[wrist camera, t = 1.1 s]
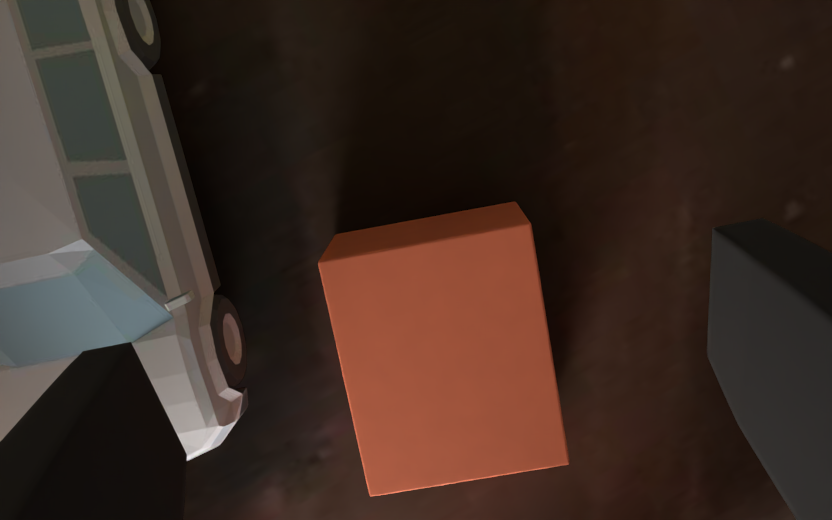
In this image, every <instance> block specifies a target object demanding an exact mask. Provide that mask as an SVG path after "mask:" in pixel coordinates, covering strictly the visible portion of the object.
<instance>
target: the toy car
mask: <svg viewBox="0 0 832 520" xmlns="http://www.w3.org/2000/svg"><path fill="white" fill-rule="evenodd" d="M160 49H161V39H160V34H159V29H158V24H157V19H156V16H155V13H154V11H153V8H152V5H151V2H150V0H0V441H1V440H2V439H3V438H4V437H5V436H6V435H7V434H8V433H9V431H10V430H11V429H12V428H13V427H14V426H15V425H16V424H17V422H18V421H19V420H20V419H21V418H22V417H23V416H24V415H25V413H26V412H27V411H28V410H29V409H30V408H31V407H32V405H33V404H34V403H35V402H36V401H37V400H38V399H39V398H40V396H41V395H42V394H43V393H44V392H45V391H46V390H47V389H48V387H49V386H50V385H51V384H52V383H53V382H54V381H55V380H56V379H57V378H58V376H59V375H60V374H61V373H62V372H63V371H64V370H65V369H66V368H67V367H68V366H69V365H70V364H71V363H72V362H73V361H74V360H75V359H76V358H77V357H78V356H79V355H80V354H81V353H82V352H83V351H87V350H92V349H97V348H102V347H107V346H112V345H117V344H123V343H128V342H131V343H132V345H133V347H134V349H135V351H136V353H137V355H138V357H139V359H140V361H141V363H142V365H143V367H144V369H145V371H146V373H147V375H148V377H149V379H150V381H151V383H152V385H153V387H154V389H155V391H156V393H157V395H158V397H159V399H160V401H161V403H162V405H163V407H164V409H165V411H166V413H167V415H168V417H169V419H170V421H171V423H172V425H173V428H174V430H175V432H176V434H177V436H178V438H179V440H180V442H181V444H182V446H183V448H184V450H185V452H186V454H187V461H189V460H191V459H193V458H195V457H197V456H199V455H201V454H203V453H205V452H207V451H209V450H211V449H213V448H215V447H217V446H219V445H220V444H221V443H222V442H223V441H224V439H225V438H226V436H227V435H228V434H229V432H230V431H231V429H232V428H233V427H234V425H235V424H236V423H237V421H238V420H239V418H240V417H241V416H242V414H243V413H244V411H245V410H246V409H247V407H248V394H247V387H244V388H239V389H234V390H233V389H231V388H229V387H233V386H235V385H238V384H239V383H240V382H241V380H242V379H243V377H244V374H245V370H246V366H247V350H246V342H245V337H244V332H243V327H242V324H241V321H240V318H239V316H238V313H237V310H236V308H235V307H234V306H233V304H232V303H231V302H230V300H229V299H228V298H226V297H225V296H223V295H214V292H215V291H216V290H217V289H218V288H219V287H220V286H221V284H220V280H219V277H218V273H217V270H216V266H215V263H214V259H213V256H212V252H211V248H210V245H209V241H208V238H207V234H206V231H205V227H204V224H203V220H202V217H201V213H200V210H199V206H198V202H197V199H196V195H195V192H194V188H193V185H192V181H191V178H190V174H189V171H188V167H187V164H186V160H185V156H184V153H183V149H182V146H181V142H180V139H179V135H178V132H177V128H176V125H175V121H174V117H173V114H172V110H171V107H170V103H169V100H168V96H167V93H166V89H165V86H164V82H163V79H162V75H161V74H151V73H150V71H149V70H150V69H151V68H152V67H153V66H154V65H155V64H156V63H157V61H158V60H159V58H160Z"/></svg>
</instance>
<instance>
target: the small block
mask: <svg viewBox="0 0 832 520" xmlns="http://www.w3.org/2000/svg"><path fill="white" fill-rule="evenodd" d="M318 266H319V270H320V275H321V279H322V284H323V288H324V293H325V297H326V302H327V306H328V311H329V315H330V320H331V324H332V329H333V333H334V338H335V342H336V347H337V351H338V356H339V360H340V365H341V369H342V374H343V378H344V383H345V387H346V392H347V396H348V401H349V405H350V410H351V414H352V419H353V423H354V428H355V432H356V437H357V441H358V446H359V450H360V455H361V459H362V464H363V468H364V473H365V478H366V482H367V487H368V491H369V495H370V496H379V495H385V494H391V493H397V492H403V491H409V490H415V489H421V488H428V487H434V486H440V485H446V484H452V483H458V482H464V481H470V480H477V479H483V478H489V477H495V476H501V475H507V474H513V473H520V472H526V471H532V470H538V469H544V468H550V467H556V466H562V465H568V464H569V462H570V461H569V455H568V449H567V443H566V437H565V430H564V424H563V418H562V412H561V405H560V399H559V393H558V387H557V381H556V374H555V368H554V362H553V356H552V349H551V343H550V337H549V331H548V325H547V318H546V312H545V306H544V300H543V294H542V287H541V281H540V275H539V269H538V262H537V256H536V250H535V244H534V238H533V231H532V225H531V223H530V222H529V220H528V219H527V217H526V216H525V214H524V213H523V211H522V210H521V209H520V207H519V206H518V204H517V203H516V202H509V203H503V204H498V205H492V206H487V207H481V208H476V209H471V210H465V211H460V212H454V213H449V214H443V215H438V216H433V217H427V218H422V219H416V220H411V221H405V222H400V223H394V224H389V225H384V226H378V227H373V228H367V229H362V230H356V231H351V232H346V233H340V234H336V235H335V236H334V237H333V239H332V241H331V242H330V244H329V245H328V247H327V248H326V250H325V252H324V253H323V255H322V256H321V258H320V260H319V261H318Z"/></svg>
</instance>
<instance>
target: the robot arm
mask: <svg viewBox="0 0 832 520" xmlns="http://www.w3.org/2000/svg"><path fill="white" fill-rule="evenodd" d="M707 356H708V359H709V361H710V363H711V365H712V368H713V370H714V372H715V375H716V377H717V379H718V382H719V384H720V386H721V389H722V391H723V393H724V395H725V397H726V400H727V402H728V404H729V406H730V408H731V410H732V412H733V415H734V417H735V419H736V421H737V423H738V425H739V427H740V428H741V430H742V432H743V434H744V435H745V437H746V439H747V440H748V442H749V444H750V445H751V447H752V448H753V450H754V452H755V453H756V455H757V457H758V458H759V460H760V461H761V463H762V465H763V466H764V468H765V470H766V471H767V473H768V475H769V476H770V478H771V479H772V481H773V483H774V484H775V486H776V487H777V489H778V491H779V492H780V494H781V496H782V497H783V499H784V500H785V502H786V504H787V505H788V507H789V508H790V510H791V512H792V513H793V515H794V516H795V518H796V520H832V253H831V252H829V251H827V250H825V249H823V248H821V247H819V246H818V245H816V244H814V243H812V242H810V241H808V240H806V239H804V238H802V237H800V236H799V235H797V234H795V233H793V232H791V231H789V230H787V229H785V228H783V227H781V226H779V225H777V224H775V223H772V222H770V221H768V220H766V219H764V218H761V219H756V220H751V221H746V222H740V223H735V224H730V225H725V226H720V227H715V228H713V230H712V252H711V273H710V295H709V317H708V338H707ZM186 464H187V454H186V452H185V450H184V448H183V446H182V444H181V442H180V440H179V438H178V436H177V434H176V432H175V430H174V428H173V425H172V423H171V421H170V419H169V417H168V415H167V413H166V411H165V409H164V407H163V405H162V403H161V401H160V399H159V397H158V395H157V393H156V391H155V389H154V387H153V385H152V383H151V381H150V379H149V377H148V375H147V373H146V371H145V369H144V367H143V365H142V363H141V361H140V359H139V357H138V355H137V353H136V351H135V349H134V347H133V345H132V343H131V342H128V343H123V344H117V345H112V346H107V347H102V348H97V349H92V350H87V351H83V352H82V353H81V354H80V355H79V356H78V357H77V358H76V359H75V360H74V361H73V362H72V363H71V364H70V365H69V366H68V367H67V368H66V369H65V370H64V371H63V372H62V373H61V374H60V375H59V376H58V378H57V379H56V380H55V381H54V382H53V383H52V384H51V385H50V386H49V387H48V389H47V390H46V391H45V392H44V393H43V394H42V395H41V396H40V398H39V399H38V400H37V401H36V402H35V403H34V404H33V405H32V407H31V408H30V409H29V410H28V411H27V412H26V413H25V415H24V416H23V417H22V418H21V419H20V420H19V421H18V422H17V424H16V425H15V426H14V427H13V428H12V429H11V430H10V431H9V433H8V434H7V435H6V436H5V437H4V438H3V439H2V440H1V441H0V520H183V516H184V503H185V486H186Z"/></svg>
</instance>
